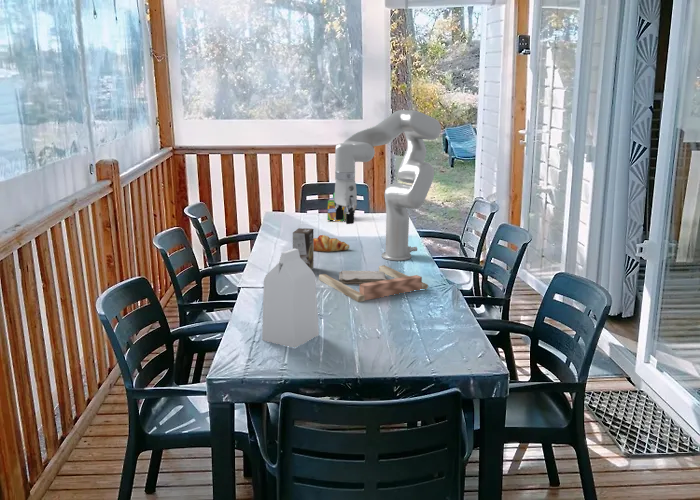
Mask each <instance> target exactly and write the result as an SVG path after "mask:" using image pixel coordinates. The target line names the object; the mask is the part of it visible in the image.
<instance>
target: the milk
mask: <svg viewBox="0 0 700 500" xmlns="http://www.w3.org/2000/svg"><path fill="white" fill-rule="evenodd" d="M317 294H318V293H317V281H316V274H315V272H314V271H313V269H312V270H311V269H310V268H309V267H308V266H307V264H306V263H305V262H304V261H303V260H302V259H301V258H300V254H299V251H298V249H295V248H294V249H293V248H291V249H289V250H285V251H282V252H281V254H280V258H279V261H278V262H277V264H276V265H275V266H274V267H273V268H272V269H271V270H270V271H268V273H267V274H266V275H265V276H264V279H263V294H262V295H263V297H262V299H263V300H262V301H263V302H262V329H261V330H262V331H261V332H262V333H261V335H262V337H261V341H264V342H267V341H268V342H269V343H271V342H272V344H275V343H276V345H278V344H280V345H279V346H282V345H285V346H284V347H286V346H289V347H294V348H295V347H297V346H299V345H301V344H302V345H305V344H306V343H308V342H310V341H312V340H313V339H312V338H314V337H315V338H317V337H319V336H320V329H319V312H318V298H317ZM318 335H319V336H318ZM316 336H317V337H316ZM315 338H314V339H315ZM311 339H312V340H311ZM309 340H310V341H309ZM307 341H308V342H307ZM268 342H267V343H268ZM305 342H306V343H305ZM302 345H301V346H302ZM289 347H288V348H289ZM299 347H300V346H299ZM297 348H298V347H297ZM295 349H296V348H295Z"/></svg>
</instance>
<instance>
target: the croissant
mask: <svg viewBox="0 0 700 500" xmlns="http://www.w3.org/2000/svg"><path fill="white" fill-rule="evenodd" d="M350 246H351V245H350V244H347V243H346V242H345V241H341V240H339V239H338V238H337V237H334V238H333V237H330V236H328V235H325V234H322V235H318V237H313V252H314V251H315V252H324V253H327V252H328V253H330V252H339V251H346V250H349V249H350Z"/></svg>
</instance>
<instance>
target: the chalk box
mask: <svg viewBox="0 0 700 500" xmlns="http://www.w3.org/2000/svg"><path fill="white" fill-rule="evenodd" d="M334 197H335V192H333V196H332V197H330V198H329V199H328V200H327V220H335V221H344V220H345V219H346V214H347V210H346V207H344V206H343V220H336V210H335V204H334V199H333V198H334ZM327 220H326V221H327ZM335 221H334V222H335ZM345 221H346V220H345ZM345 221H344V222H345Z"/></svg>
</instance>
